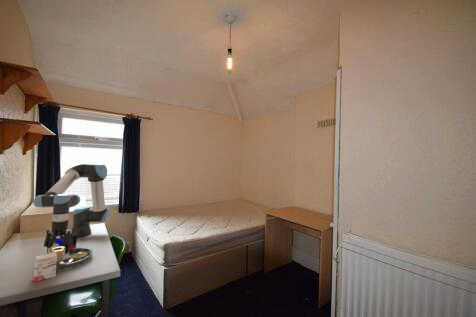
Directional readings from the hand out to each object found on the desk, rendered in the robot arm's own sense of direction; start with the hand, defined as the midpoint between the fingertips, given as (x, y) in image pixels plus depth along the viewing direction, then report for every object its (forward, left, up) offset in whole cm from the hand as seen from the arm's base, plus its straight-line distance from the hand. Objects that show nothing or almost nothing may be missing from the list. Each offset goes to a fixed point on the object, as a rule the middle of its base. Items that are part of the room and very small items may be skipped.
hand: (57, 258), depth 122 cm
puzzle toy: (-22, -15, -5) cm, 27 cm away
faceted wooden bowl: (0, 0, 0) cm, 0 cm away
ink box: (+11, +3, -5) cm, 13 cm away
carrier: (-7, 0, -5) cm, 8 cm away
